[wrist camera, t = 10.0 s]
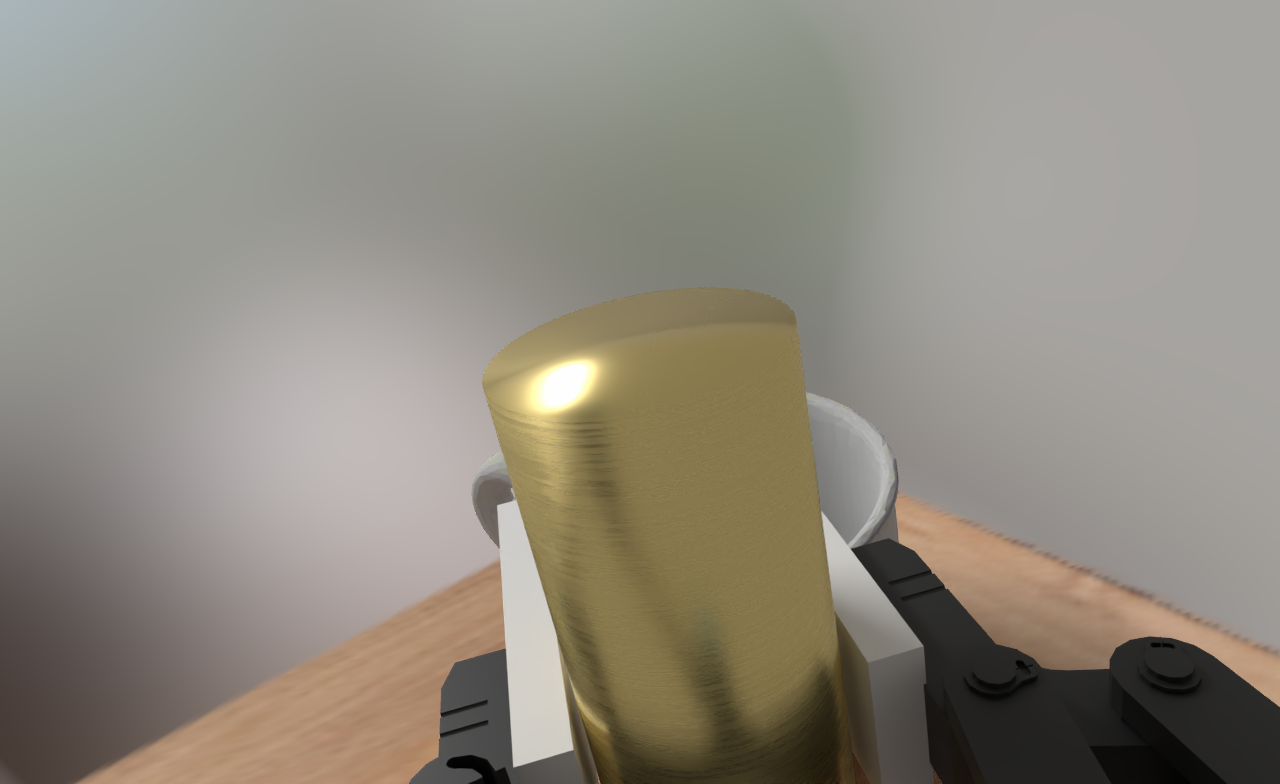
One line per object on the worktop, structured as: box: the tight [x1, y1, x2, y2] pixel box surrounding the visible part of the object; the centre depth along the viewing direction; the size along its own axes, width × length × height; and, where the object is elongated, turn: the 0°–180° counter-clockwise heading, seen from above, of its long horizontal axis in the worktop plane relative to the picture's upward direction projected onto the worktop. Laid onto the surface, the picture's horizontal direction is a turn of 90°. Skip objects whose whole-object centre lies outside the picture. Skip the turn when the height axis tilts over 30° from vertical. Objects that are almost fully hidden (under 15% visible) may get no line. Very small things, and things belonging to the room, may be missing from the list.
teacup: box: [472, 392, 899, 549], centre depth 26 cm, size 14×11×8 cm
